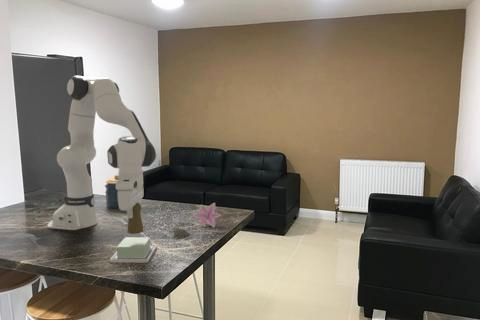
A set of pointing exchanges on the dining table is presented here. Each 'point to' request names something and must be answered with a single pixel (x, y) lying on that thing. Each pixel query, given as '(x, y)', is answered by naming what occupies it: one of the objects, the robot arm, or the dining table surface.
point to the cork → (135, 221)
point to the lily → (207, 215)
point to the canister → (112, 193)
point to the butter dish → (134, 250)
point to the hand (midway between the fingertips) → (133, 215)
